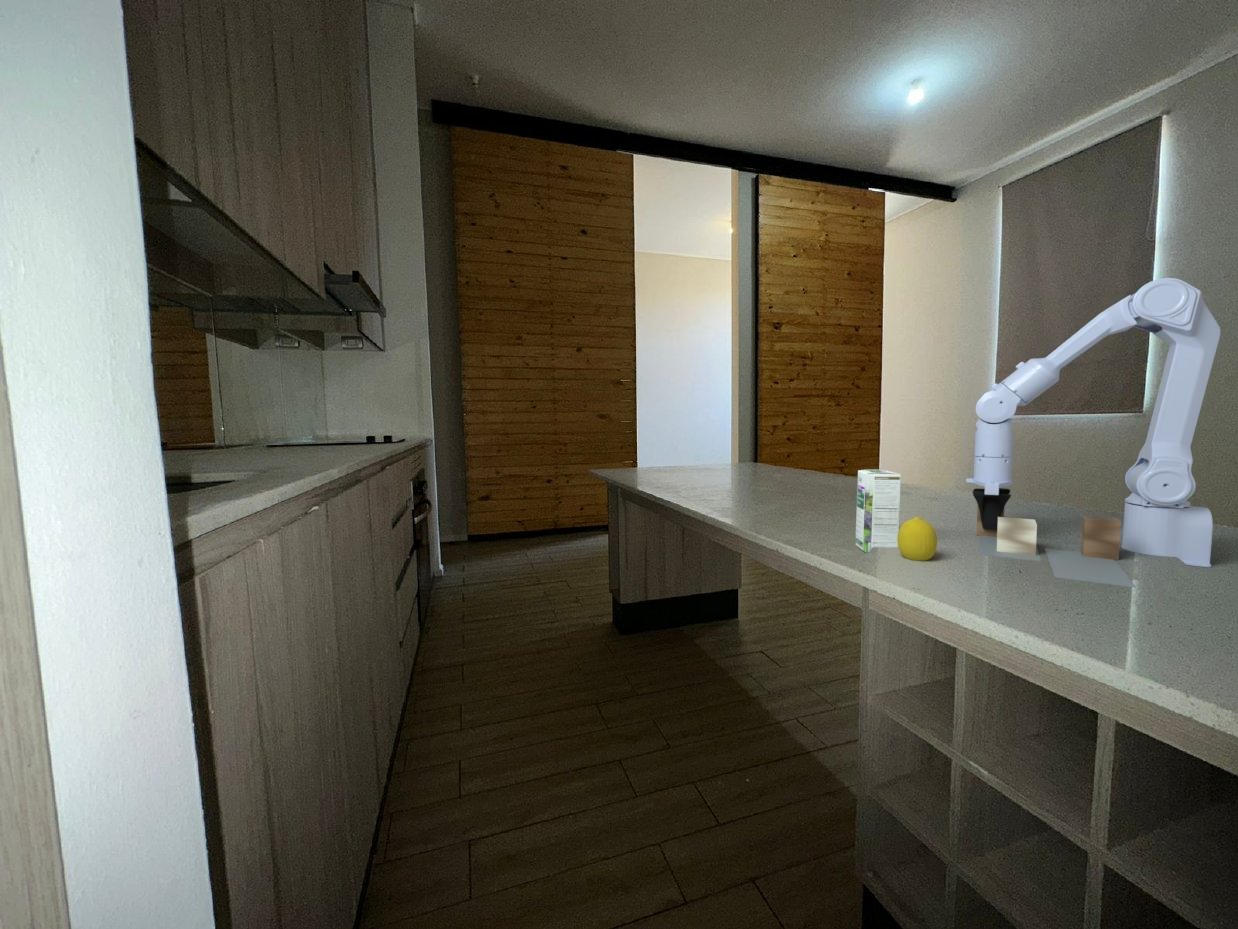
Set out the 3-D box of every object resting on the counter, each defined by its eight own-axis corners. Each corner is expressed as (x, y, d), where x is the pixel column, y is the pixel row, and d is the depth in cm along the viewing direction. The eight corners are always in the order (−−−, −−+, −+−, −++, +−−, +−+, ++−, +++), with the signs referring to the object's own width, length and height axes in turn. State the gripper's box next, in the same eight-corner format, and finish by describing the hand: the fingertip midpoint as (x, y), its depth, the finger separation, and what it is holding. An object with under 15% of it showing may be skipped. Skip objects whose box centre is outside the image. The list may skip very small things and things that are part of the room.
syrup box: (854, 545, 94) (855, 469, 92) (887, 545, 93) (889, 468, 92) (864, 553, 88) (866, 472, 87) (900, 553, 87) (902, 472, 86)
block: (1033, 548, 84) (1034, 519, 84) (1035, 555, 80) (1037, 525, 80) (996, 544, 87) (997, 516, 87) (996, 551, 83) (998, 521, 83)
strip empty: (1114, 561, 79) (1117, 518, 78) (1141, 595, 65) (1144, 542, 64) (1044, 554, 84) (1046, 513, 83) (1054, 583, 70) (1057, 535, 69)
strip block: (1033, 542, 91) (1035, 505, 91) (1040, 567, 77) (1043, 523, 76) (976, 537, 97) (978, 501, 96) (973, 559, 82) (975, 517, 82)
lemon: (944, 569, 78) (945, 519, 77) (908, 570, 78) (909, 520, 77) (923, 559, 83) (924, 513, 83) (890, 560, 84) (891, 513, 83)
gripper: (968, 453, 101) (965, 518, 102) (965, 458, 89) (962, 532, 91) (1012, 453, 97) (1009, 522, 98) (1015, 459, 85) (1011, 537, 86)
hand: (990, 527), depth 94 cm, fingers closed on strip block, 3 cm apart
